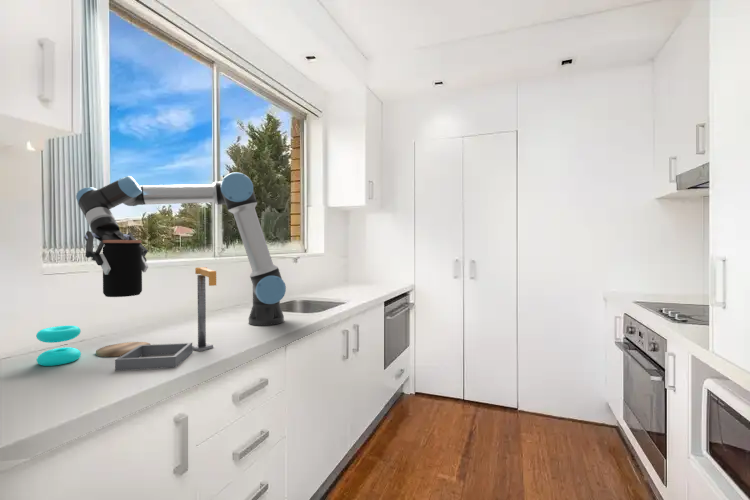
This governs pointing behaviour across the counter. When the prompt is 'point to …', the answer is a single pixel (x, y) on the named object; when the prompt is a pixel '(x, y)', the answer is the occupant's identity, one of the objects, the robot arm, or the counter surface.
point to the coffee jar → (123, 268)
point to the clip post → (201, 316)
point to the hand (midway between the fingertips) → (127, 270)
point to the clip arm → (207, 274)
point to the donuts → (58, 354)
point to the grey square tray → (134, 362)
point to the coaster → (118, 349)
